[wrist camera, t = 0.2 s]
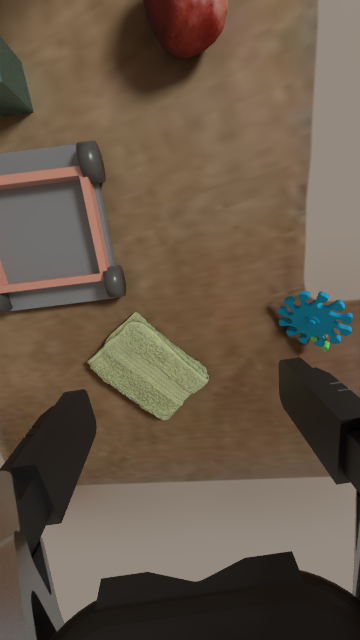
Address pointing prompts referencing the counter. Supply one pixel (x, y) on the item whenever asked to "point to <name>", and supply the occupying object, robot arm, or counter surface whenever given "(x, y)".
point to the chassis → (55, 229)
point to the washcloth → (148, 368)
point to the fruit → (186, 24)
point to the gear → (315, 319)
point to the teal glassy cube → (12, 84)
